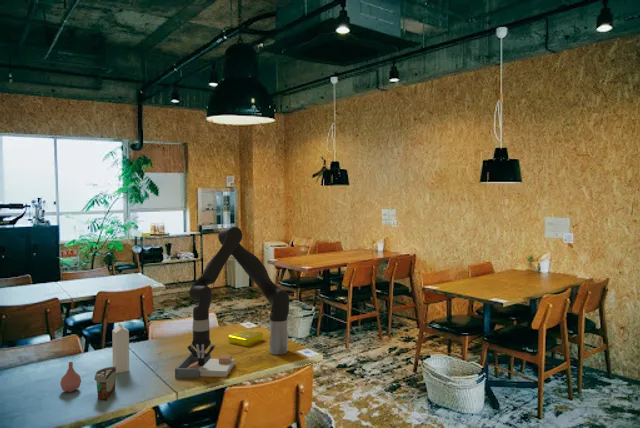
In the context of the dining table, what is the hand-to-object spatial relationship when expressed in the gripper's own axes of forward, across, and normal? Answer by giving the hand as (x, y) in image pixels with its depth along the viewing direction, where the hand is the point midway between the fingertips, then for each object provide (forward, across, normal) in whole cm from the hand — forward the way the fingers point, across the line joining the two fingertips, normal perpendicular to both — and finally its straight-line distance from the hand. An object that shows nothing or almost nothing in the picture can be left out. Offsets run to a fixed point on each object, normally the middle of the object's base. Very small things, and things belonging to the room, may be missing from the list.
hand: (201, 365), depth 218 cm
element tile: (+4, -11, -49) cm, 50 cm away
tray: (+3, +5, -4) cm, 7 cm away
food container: (+3, +33, +27) cm, 42 cm away
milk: (+3, +39, -1) cm, 39 cm away
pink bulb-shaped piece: (+3, +49, +23) cm, 54 cm away
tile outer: (+2, +3, 0) cm, 3 cm away
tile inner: (+1, -9, -8) cm, 12 cm away
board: (+3, -6, -4) cm, 8 cm away
